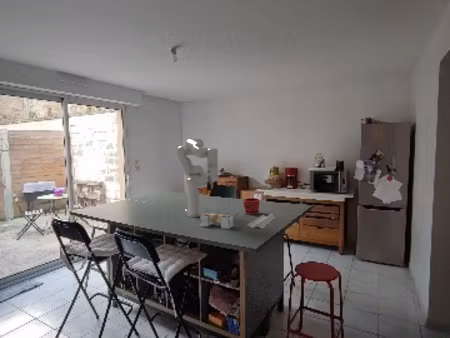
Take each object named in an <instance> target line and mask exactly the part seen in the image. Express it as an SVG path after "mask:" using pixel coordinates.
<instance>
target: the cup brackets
mask: <svg viewBox="0 0 450 338" xmlns="http://www.w3.org/2000/svg"><path fill="white" fill-rule="evenodd" d="M206 213H207V212H204V213H202V215H200V216H199V223H200V224H199V227H205V228H206V227H210V226H211V225H213V224H214V222H208V216H204V214H206ZM229 215H230V217H228V218H227V217H221V223H220V227H221V229H223V230H230V229H232V228H233V227H234V215H232V214H229Z"/></svg>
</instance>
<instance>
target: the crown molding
mask: <svg viewBox="0 0 450 338" xmlns="http://www.w3.org/2000/svg"><path fill="white" fill-rule="evenodd" d="M275 218H276V219H277V217H276V216H275V215H274V214H273V213H270V214H268V215H267V216H265V215H264V214H262V215H260V216H259V217H258V218H255V219H254V220H252V221H251V222H249V223H247V225H246V227H248V228H253V229H254V228H259V229H262V228H263V229H264V228H265V227H267V226H268V225H270V224H271V223H272V222H273V221H275V220H276V219H275ZM274 219H275V220H274ZM272 220H273V221H272ZM271 221H272V222H271ZM270 222H271V223H270ZM267 224H268V225H267ZM266 225H267V226H266ZM263 229H262V230H263Z"/></svg>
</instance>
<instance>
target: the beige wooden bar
mask: <svg viewBox="0 0 450 338" xmlns="http://www.w3.org/2000/svg"><path fill="white" fill-rule="evenodd" d="M205 213H206V214H204V213H203V214H204V216H208V222H213V223H216V224H217V223H218V224H221V217H227V218H228V217H230V215H231V214H222V213H219V214H218V213H209V212H205Z"/></svg>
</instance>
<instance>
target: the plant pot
mask: <svg viewBox="0 0 450 338" xmlns="http://www.w3.org/2000/svg"><path fill="white" fill-rule="evenodd" d="M242 201H243V207H244V213H245V214H246V215H252V216H254V215H258V214H259V213H260V211H259V208H260V199H259V198H257V197H256V198H255V197H249V198H244V199H243V200H242Z"/></svg>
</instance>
